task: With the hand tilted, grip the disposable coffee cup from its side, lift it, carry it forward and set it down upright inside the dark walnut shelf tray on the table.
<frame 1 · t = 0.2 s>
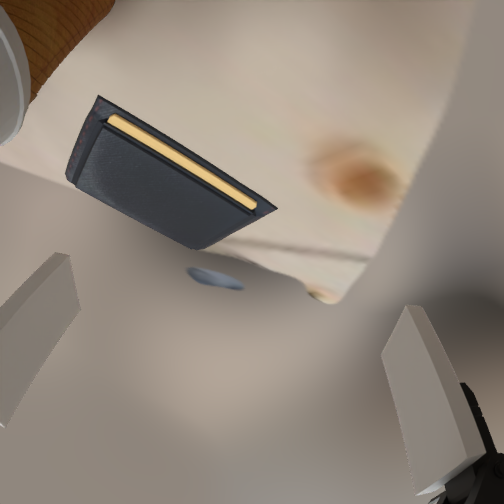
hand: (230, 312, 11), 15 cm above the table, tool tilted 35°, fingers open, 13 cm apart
wallet: (160, 182, 31), on the table
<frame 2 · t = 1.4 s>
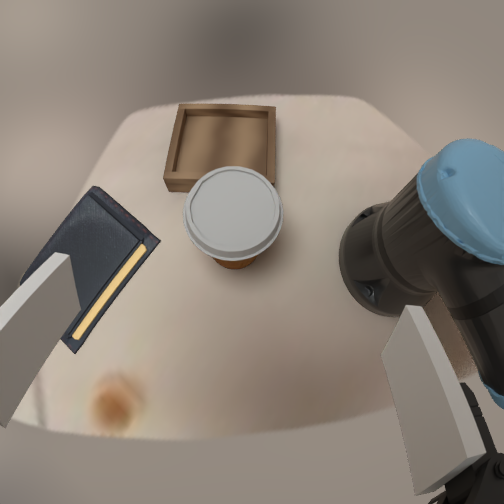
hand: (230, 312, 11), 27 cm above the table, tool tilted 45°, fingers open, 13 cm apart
wallet: (83, 266, 40), on the table
shelf tray: (223, 153, 44), on the table
disposable coffee cup: (234, 245, 40), on the table
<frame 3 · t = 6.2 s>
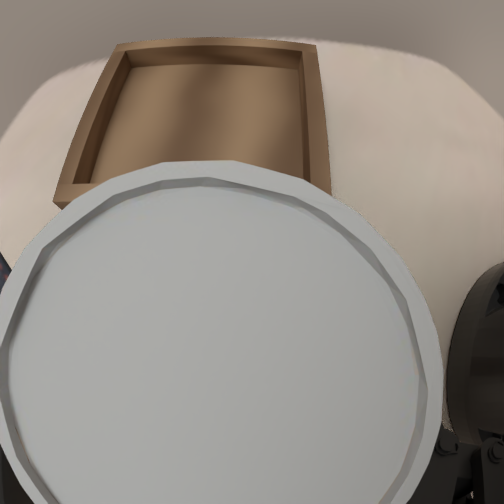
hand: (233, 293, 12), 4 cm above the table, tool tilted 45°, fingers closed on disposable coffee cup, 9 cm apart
shelf tray: (203, 139, 19), on the table
disposable coffee cup: (226, 364, 16), on the table, touching gripper
when the fingers open (8 cm above the table, at t = 10.9 s): disposable coffee cup drops 1 cm, resting on shelf tray.
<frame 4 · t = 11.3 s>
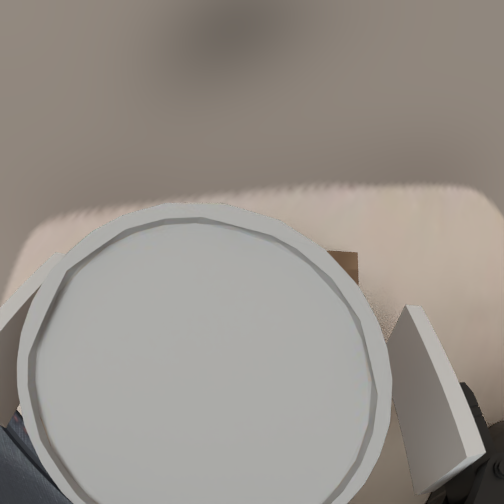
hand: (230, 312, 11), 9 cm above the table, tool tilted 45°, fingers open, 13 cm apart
wallet: (19, 502, 15), on the table
shelf tray: (228, 360, 19), on the table
disposable coffee cup: (220, 365, 17), point 2 cm above the table, touching shelf tray
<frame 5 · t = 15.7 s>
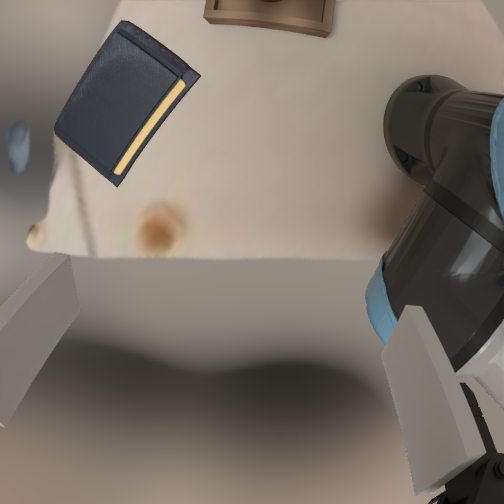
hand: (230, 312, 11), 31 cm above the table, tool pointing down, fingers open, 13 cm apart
wallet: (119, 102, 37), on the table
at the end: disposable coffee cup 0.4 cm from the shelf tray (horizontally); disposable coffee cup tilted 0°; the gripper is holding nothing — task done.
